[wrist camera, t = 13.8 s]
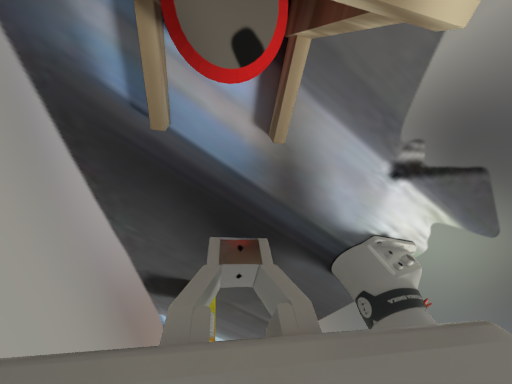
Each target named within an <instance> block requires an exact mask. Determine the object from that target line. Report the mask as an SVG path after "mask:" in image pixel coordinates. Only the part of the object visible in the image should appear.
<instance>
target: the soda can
mask: <svg viewBox="0 0 512 384" xmlns="http://www.w3.org/2000/svg"><path fill="white" fill-rule="evenodd" d="M160 2H161V8H162V13H163V17H164V21H165V24H166V27H167V29H168V32H169V34H170V37H171V39H172V41H173V42H174V44H175V46H176V48H177V49H178V51H179V52H180V54H181V55H182V56H183V57H184V59H185V60H186V61H187V62H188V63H189V64H190V65H191V66H192V67H193V68H194V69H195V70H196V71H197V72H199V73H201V74H202V75H204V76H205V77H207V78H209V79H212V80H214V81H217V82H221V83H228V84H232V83H241V82H244V81H248V80H250V79H252V78H254V77H256V76H257V75H259V74H260V73H261V72H262V71H263V70H265V69H266V68H267V67H268V65H269V64H270V63H271V62H272V60H273V59H274V58H275V56H276V54H277V52H278V50H279V48H280V46H281V43H282V40H283V37H284V35H285V30H286V25H287V19H288V0H160Z"/></svg>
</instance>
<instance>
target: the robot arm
mask: <svg viewBox="0 0 512 384" xmlns="http://www.w3.org/2000/svg"><path fill="white" fill-rule="evenodd" d="M416 248H417V246H416V244H415V243H413V242H407V241H402V240H396V239H391V238H385V237H380V236H374V237H371V238H370V239H368V240H367V241H365V242H364V243H362V244H360V245H357V246H355V247H353V248H351V249H349V250H347V251H345V252H344V253H343V254H341V255H340V256H339V257H338V258H337V259H336V260H335V262H334V263H333V265H332V273H333V274H334V275H335V276H336V277H337V278H338V279H339V281H340V282H341V283H342V284H343V286H344V287H345V288H346V290H347V291H348V292H349V294H350V295H351V297H352V298H353V300H354V301H355V303H356V304H357V307H358V309H359V312H360V314H361V316H362V317H363V319H364V321H365V323H366V325H367V326H368V328H369V329H367V330H354V331H342V332H328V333H322V332H321V329H320V326H319V323H318V320H317V317H316V314H315V312H314V309H313V306H312V303H311V301H310V300H309V299H308V298H307V296H306V295H305V294H304V293H303V292H302V291H301V290H300V289H299V288H298V287H297V286H296V285H295V284H294V283H293V282H292V281H291V280H290V279H289V278H288V277H287V275H286V274H285V273H284V272H283V271H282V270H281V269H280V268H279V267H278V266H277V265H274V264H273V260H272V256H271V251H270V247H269V243H268V240H267V238H226V237H210V239H209V248H208V258H207V265H203V266H202V268H201V269H200V270H199V271H198V272H197V274H196V275H195V276H194V277H193V278H192V280H191V281H190V282H189V283H188V284H187V286H186V287H185V288H184V289H183V290H182V292H181V293H180V294H179V295H178V296H177V297H176V299H175V300H174V301H173V302H172V303H171V305H170V306H169V308H168V312H167V316H166V320H165V325H164V329H163V333H162V337H161V341H160V345H159V346H151V347H138V348H127V349H113V350H101V351H88V352H75V353H63V354H50V355H37V356H25V357H12V358H0V384H512V334H510V333H509V332H507V331H506V330H504V329H502V328H501V327H499V326H497V325H495V324H494V323H491V322H488V321H468V322H456V323H443V324H437V323H436V322H435V320H434V319H433V318H432V317H431V316H430V314H429V313H428V312H427V311H426V309H427V307H429V306H430V305H431V304H432V303H429V304H427V305H426V303H427V301H428V298H427V299H425V300H424V301H423V299H422V297H421V295H420V293H419V291H418V290H417V289H418V285H419V281H420V277H421V274H422V267H421V265H420V264H419V263H418V261H417V260H416V259H415V258H414V257H413V255H414V253H415V251H416ZM225 287H253V288H254V290H255V291H256V293H257V294H258V296H259V298H260V299H261V301H262V302H263V304H264V305H265V307H266V308H267V310H268V311H269V313H270V314H271V316H272V319H271V321H270V323H269V325H268V327H267V329H266V337H265V338H252V339H239V340H227V341H214V342H209V340H210V321H211V309H210V308H209V306H210V304H211V302H212V301H213V299H214V297H215V296H216V294H217V292H218V291H219V289H220V288H225Z"/></svg>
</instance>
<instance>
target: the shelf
mask: <svg viewBox="0 0 512 384" xmlns="http://www.w3.org/2000/svg"><path fill="white" fill-rule="evenodd" d="M480 1H481V0H291V5H290V10H289V15H288V20H287V25H286V30H285V36H284V37H288V43H287V48H286V53H285V57H284V62H283V67H282V72H281V77H280V82H279V87H278V92H277V97H276V102H275V106H274V111H273V116H272V121H271V126H270V131H269V136H270V138H271V140H272V141H273V143H280V144H285V140H286V136H287V132H288V128H289V124H290V120H291V116H292V112H293V109H294V105H295V101H296V97H297V93H298V89H299V85H300V81H301V77H302V73H303V69H304V66H305V62H306V58H307V54H308V50H309V46H310V42H311V39H313V38H319V37H324V36H330V35H336V34H341V33H347V32H352V31H358V30H364V29H369V28H375V27H380V26H386V25H391V24H397V23H403V22H406V23H409V24H412V25H416V26H419V27H422V28H426V29H429V30H432V31H444V30H451V29H461V28H465V27H466V25H467V23H468V22H469V20H470V18H471V17H472V15H473V13H474V11H475V10H476V8H477V6H478V5H479V3H480ZM134 7H135V14H136V22H137V29H138V37H139V44H140V52H141V59H142V67H143V74H144V82H145V89H146V97H147V104H148V111H149V119H150V126H151V130H159V131H166V129H167V128H168V127H169V125H170V111H169V98H168V85H167V72H166V59H165V46H164V33H163V20H162V8H161V2H160V0H134Z"/></svg>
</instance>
